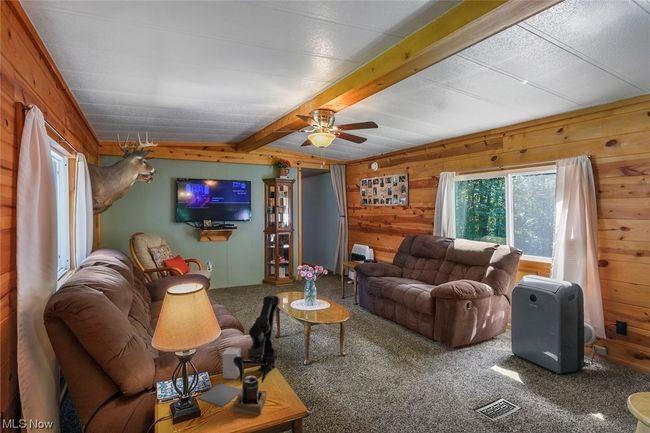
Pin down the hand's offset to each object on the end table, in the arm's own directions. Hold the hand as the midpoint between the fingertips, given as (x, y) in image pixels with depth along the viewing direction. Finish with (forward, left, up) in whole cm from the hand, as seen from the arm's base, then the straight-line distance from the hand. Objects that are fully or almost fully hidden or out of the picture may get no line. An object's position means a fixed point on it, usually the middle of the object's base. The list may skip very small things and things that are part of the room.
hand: (251, 382), depth 150 cm
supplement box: (-15, -23, -10) cm, 29 cm away
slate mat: (+1, -16, -9) cm, 19 cm away
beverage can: (+2, +1, -10) cm, 10 cm away
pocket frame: (+2, +1, -9) cm, 10 cm away
